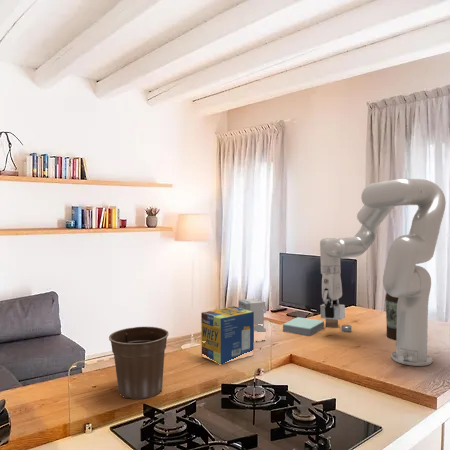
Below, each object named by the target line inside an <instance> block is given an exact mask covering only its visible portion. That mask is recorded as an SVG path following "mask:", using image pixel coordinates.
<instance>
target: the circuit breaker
mask: <svg viewBox="0 0 450 450" xmlns="http://www.w3.org/2000/svg"><path fill="white" fill-rule="evenodd" d="M238 308H242V309H245V310H249V311H252V312H254V324H255V325H257V326H255V327H254V330H256V331H257V332H266V333H267V329H266V328H265V314H266V313H267V306H266V301H264V300H262V299H259V298H246V299H238ZM258 324H263V326H261V325H258Z"/></svg>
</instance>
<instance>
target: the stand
mask: <svg viewBox="0 0 450 450" xmlns="http://www.w3.org/2000/svg"><path fill="white" fill-rule="evenodd" d="M324 328H325V321H324V320H320V319H313V318H306V317H299V316H297V317H295V318H293V319H290V320H288V321H287V322H285V323H282V332H284V333H290V334H297V335H303V336H306V337H307V336H308V337H312V336H313V335H314V334H316V333H319V332H320V331H322V330H323V329H324Z"/></svg>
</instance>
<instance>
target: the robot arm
mask: <svg viewBox="0 0 450 450" xmlns="http://www.w3.org/2000/svg"><path fill="white" fill-rule="evenodd" d="M360 198H361V203H362V204H363V206H362V208H361V209H360V210H359V211H358V212H357V213H356V217H357V218H356V219H357V220H358V222H359V223H360V224H361V226H360V229H359V230H358V231H357V232H356V233H355V235H354V236H352V237H350V236H349V237H341V238H334V237H333V238H330V237H329V238H328V237H327V238H322V239H321V240H320V242H319V248H320V249H319V252H320V274H321V275H322V278H321V298H322V302H323V304H325V305H324V306H325V317H326V318H333V317H334V314H333V308H332V304H340V301H339V300H340V298H342V296H343V285H342V278H341V273H342V272H341V269H342V268H341V259H348V258H354V257H360V256H361V255H363V254H364V253H366V251H367V250H368V249H369V248H370V246H371V245H372V244H374V241H375V240H376V237H377V234H378V233H377V232H378V227H379V226H380V224H381V223H382V222H383V221H384V220H385V219H386V218H387V216H388V215H389V214H390V213H391V212H392V210H393V209H394V208H395V207H399V206H417V208H418V209H417V210H416V212H415V213H414V216H413V217H412V221H411V225H410V228H409V232H408V234H404V235H401V236H398V237H396V238H395V239H394V240H393V241H392V242H391V245H390V247H389V249H388V252H387V258H386V263H385V268H384V271H383V275H382V285H383V288H384V290H385V292H386V294H387V293H388V294H389V295H390V296H392V297H397V298H398V303H397V340H396V346H395V347H396V349H395V350H396V351H393V352H392V353H391V355H390V356H391V359H392V360H393V361H394V362H396V363H399V364H402V365H407V366H414V367H425V366H430V365H431V364H432V363H433V358H432V356H430V355H429V354H428V335H429V334H428V327H429V326H428V323H429V322H428V321H429V319H428V318H429V317H428V315H429V300H430V293H431V288H432V277H431V275H430V273H429V271H428V270H427V269H426V268H425V267H423V266H421V265H419V264H424V263H427V262H429V261H430V260H432V258H433V257H434V255H435V251H436V246H437V243H438V237H439V233H440V229H441V225H442V222H443V219H444V215H445V210H446V203H447V201H446V196H445V193H444V192H443V190H442V188H440V186H439V185H438V184H436V183H435V182H433V181H431V180H428V179H421V178H398V179H390V180H385V181H380V182H372V183H370V184H368V185H367V186H365V187H364V188H363V189H362V192H361V197H360Z"/></svg>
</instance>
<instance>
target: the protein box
mask: <svg viewBox="0 0 450 450" xmlns="http://www.w3.org/2000/svg"><path fill="white" fill-rule="evenodd" d="M200 313H201V315H200V316H201V319H200V320H201V322H200V323H201V326H200V327H201V331H200V332H201V355H202V354H204V355H206V356H207V357H209V358H210V359H212V360H214V361H216V362H217V363H219V364H222V365H224V364H223V363H225V362H227V361H229V360H231V359H234V358H236V357H238V356H240V355H242V354H244V353H247V352H250V351H252V350H254V349H255V348H254V346H255V342H254V312H252V311H249V310H245V309H242V308H239V306H238V307H237V306H234V305H233V306H228V307H225V308H220V309H214V310H209V311H204V312H200ZM202 341H206V342H205V343H203V342H202ZM217 363H216V364H217ZM219 364H218V365H219Z"/></svg>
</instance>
